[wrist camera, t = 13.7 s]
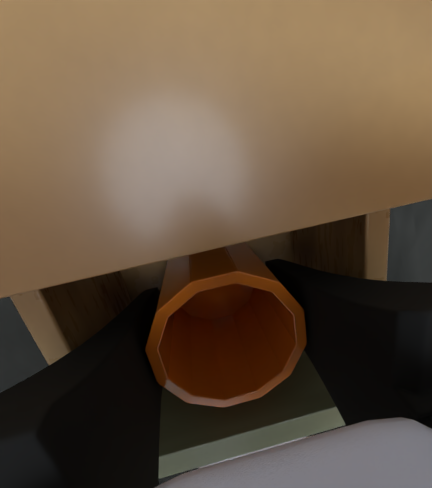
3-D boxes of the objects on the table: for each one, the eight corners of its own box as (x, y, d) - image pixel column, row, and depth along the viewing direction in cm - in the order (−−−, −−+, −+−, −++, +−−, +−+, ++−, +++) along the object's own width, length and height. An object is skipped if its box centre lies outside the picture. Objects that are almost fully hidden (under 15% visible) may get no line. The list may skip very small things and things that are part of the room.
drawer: (315, 363, 17) (393, 478, 11) (155, 406, 16) (134, 558, 10) (294, 67, 11) (448, -87, 4) (38, 115, 10) (-217, 12, 4)
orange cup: (265, 307, 13) (310, 384, 8) (177, 329, 13) (172, 422, 8) (252, 221, 11) (300, 255, 7) (151, 244, 11) (124, 298, 6)
